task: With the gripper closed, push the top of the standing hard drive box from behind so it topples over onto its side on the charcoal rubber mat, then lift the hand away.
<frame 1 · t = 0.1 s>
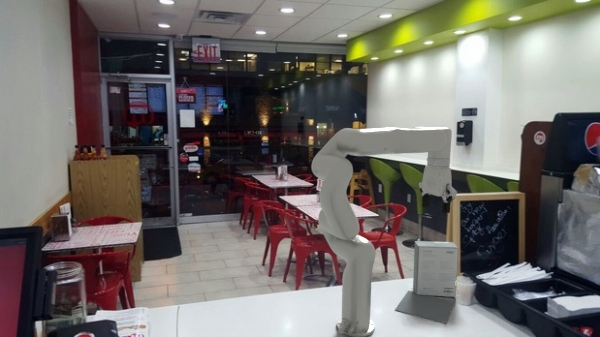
hand: (435, 209, 144), 37 cm above the counter, tool pointing down, fingers open, 9 cm apart
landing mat: (425, 306, 150), on the counter
hard drive box: (433, 292, 161), on the counter, touching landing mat
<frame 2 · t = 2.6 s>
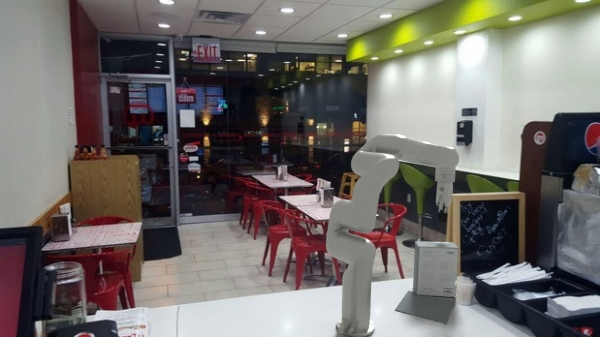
hand: (442, 221, 166), 27 cm above the counter, tool pointing down, fingers closed
nothing on the counter moved.
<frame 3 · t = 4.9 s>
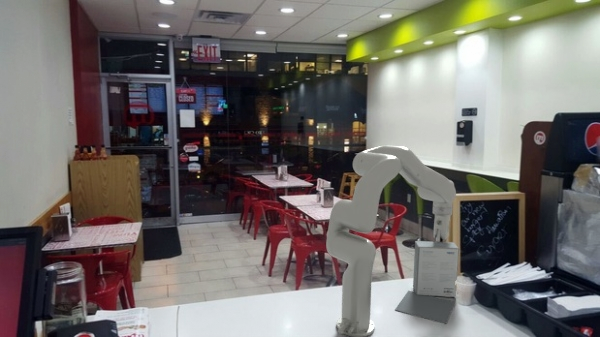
hand: (439, 253, 166), 14 cm above the counter, tool pointing down, fingers closed
hard drive box: (433, 292, 161), on the counter, touching gripper, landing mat
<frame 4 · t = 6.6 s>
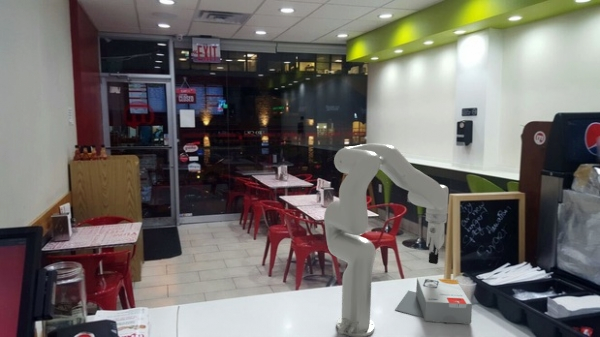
hand: (433, 262, 156), 14 cm above the counter, tool pointing down, fingers closed
hard drive box: (436, 287, 157), point 4 cm above the counter, touching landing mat
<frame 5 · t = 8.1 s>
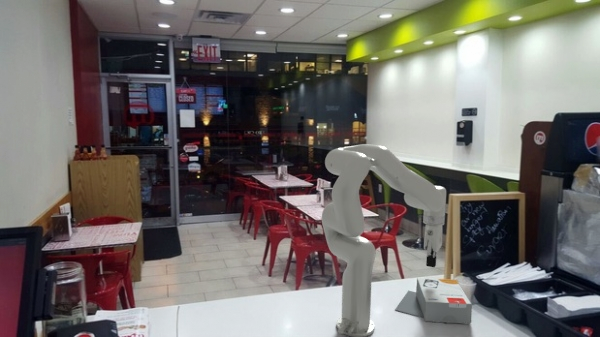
hand: (430, 265, 152), 14 cm above the counter, tool pointing down, fingers closed
nothing on the counter moved.
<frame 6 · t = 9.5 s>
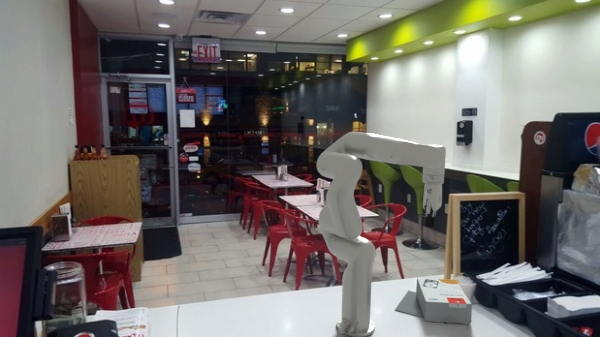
hand: (430, 226, 151), 29 cm above the counter, tool pointing down, fingers closed
nothing on the counter moved.
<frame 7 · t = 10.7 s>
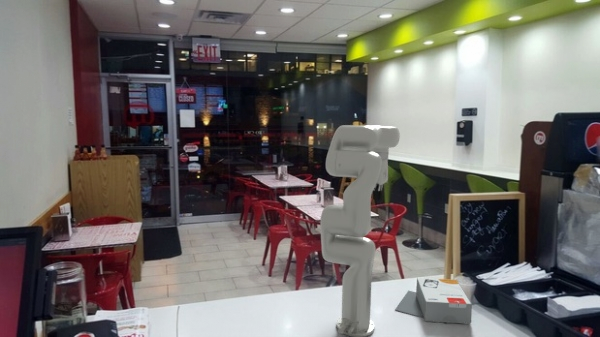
hand: (377, 199, 168), 35 cm above the counter, tool pointing down, fingers closed
nothing on the counter moved.
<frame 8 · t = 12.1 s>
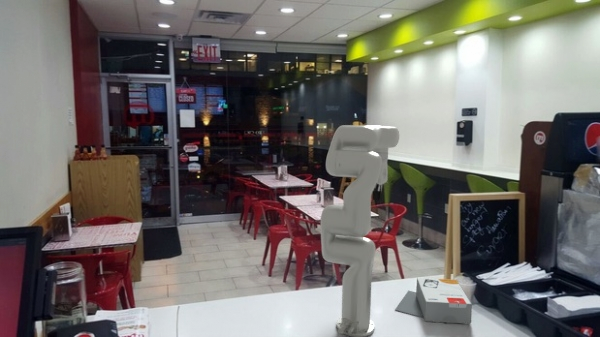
hand: (377, 199, 168), 35 cm above the counter, tool pointing down, fingers closed
nothing on the counter moved.
at the end: hard drive box tilted 90°; hard drive box touching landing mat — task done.
